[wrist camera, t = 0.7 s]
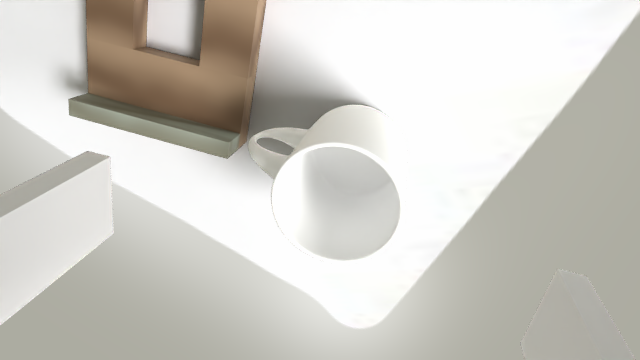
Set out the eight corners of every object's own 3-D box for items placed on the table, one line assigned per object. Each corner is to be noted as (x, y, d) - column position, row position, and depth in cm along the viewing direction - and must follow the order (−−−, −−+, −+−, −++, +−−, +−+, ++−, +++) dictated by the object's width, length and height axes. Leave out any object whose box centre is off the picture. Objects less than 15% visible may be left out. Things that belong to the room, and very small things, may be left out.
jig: (101, -127, 33) (58, -144, 29) (278, -89, 32) (259, -101, 28) (103, 103, 40) (69, 115, 37) (246, 141, 39) (227, 158, 35)
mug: (288, 70, 36) (241, 99, 26) (424, 125, 36) (428, 175, 26) (259, 160, 40) (209, 214, 30) (383, 211, 39) (372, 283, 30)
